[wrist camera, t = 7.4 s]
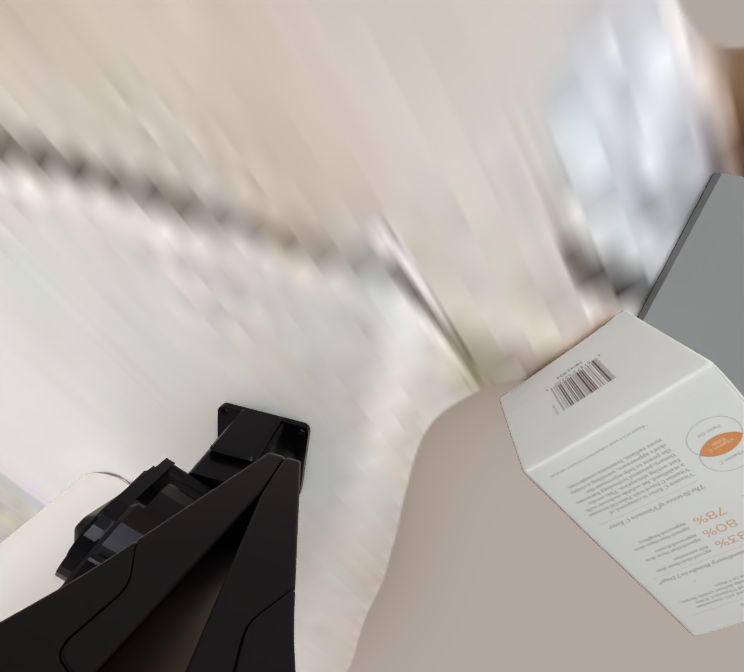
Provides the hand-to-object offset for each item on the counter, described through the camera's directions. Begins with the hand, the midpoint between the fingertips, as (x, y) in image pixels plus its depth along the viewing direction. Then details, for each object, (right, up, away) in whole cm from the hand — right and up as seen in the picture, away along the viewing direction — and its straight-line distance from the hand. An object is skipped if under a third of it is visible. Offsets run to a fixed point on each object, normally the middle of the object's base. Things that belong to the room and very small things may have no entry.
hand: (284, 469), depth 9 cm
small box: (+12, +1, +7) cm, 14 cm away
